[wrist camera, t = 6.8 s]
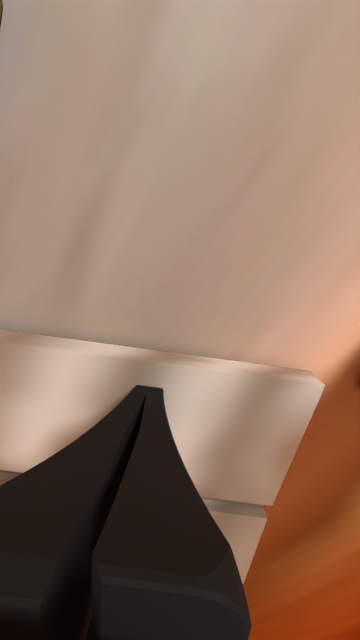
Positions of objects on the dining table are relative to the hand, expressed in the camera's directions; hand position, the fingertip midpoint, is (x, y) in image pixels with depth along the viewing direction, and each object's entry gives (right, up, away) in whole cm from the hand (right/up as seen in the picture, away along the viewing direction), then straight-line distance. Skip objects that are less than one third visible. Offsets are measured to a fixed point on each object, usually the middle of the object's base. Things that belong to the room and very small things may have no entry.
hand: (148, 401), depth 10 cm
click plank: (-1, -1, +2) cm, 2 cm away
